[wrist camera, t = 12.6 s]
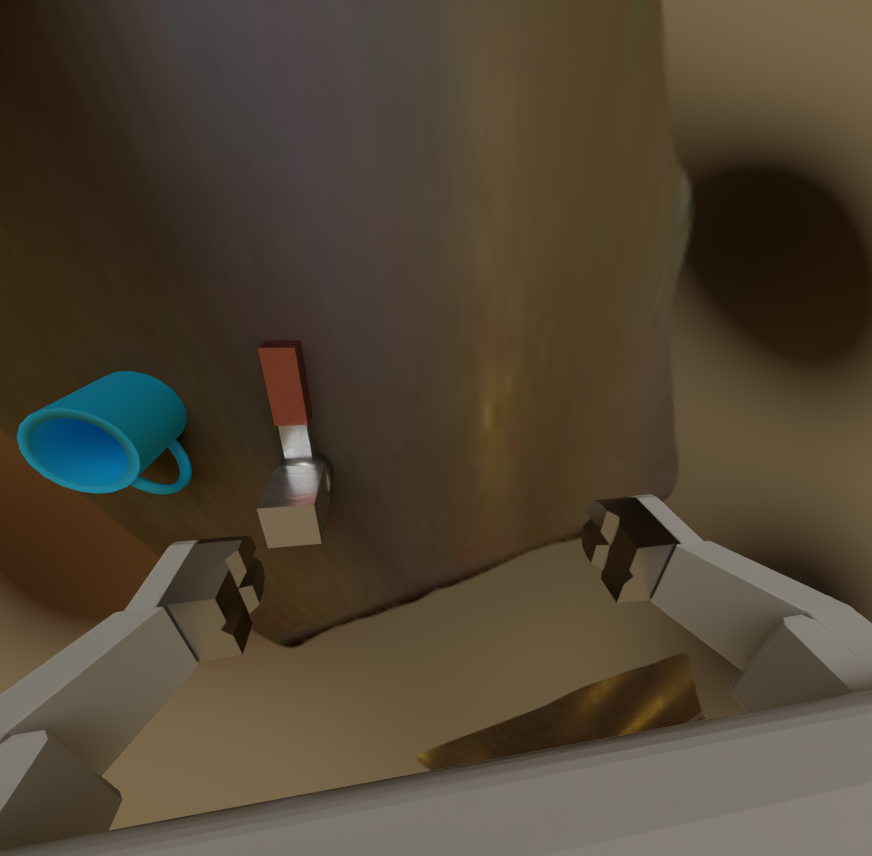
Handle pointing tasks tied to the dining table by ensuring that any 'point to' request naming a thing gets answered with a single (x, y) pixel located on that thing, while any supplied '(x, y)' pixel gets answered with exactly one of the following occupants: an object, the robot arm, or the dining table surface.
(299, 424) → the ratchet
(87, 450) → the mug
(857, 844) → the robot arm
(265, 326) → the dining table surface
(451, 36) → the dining table surface
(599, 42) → the dining table surface
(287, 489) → the brushed steel block
